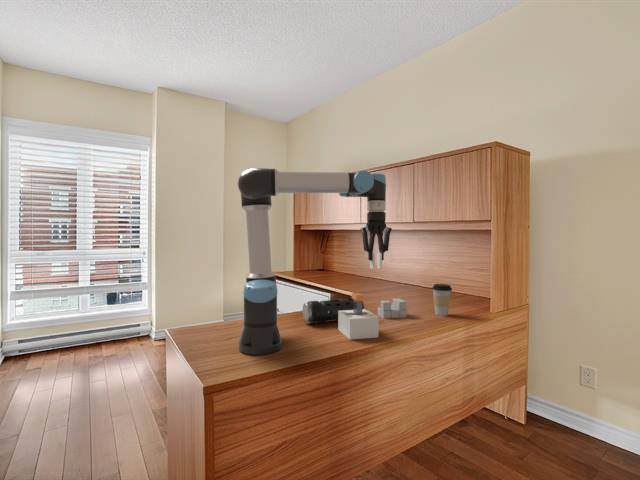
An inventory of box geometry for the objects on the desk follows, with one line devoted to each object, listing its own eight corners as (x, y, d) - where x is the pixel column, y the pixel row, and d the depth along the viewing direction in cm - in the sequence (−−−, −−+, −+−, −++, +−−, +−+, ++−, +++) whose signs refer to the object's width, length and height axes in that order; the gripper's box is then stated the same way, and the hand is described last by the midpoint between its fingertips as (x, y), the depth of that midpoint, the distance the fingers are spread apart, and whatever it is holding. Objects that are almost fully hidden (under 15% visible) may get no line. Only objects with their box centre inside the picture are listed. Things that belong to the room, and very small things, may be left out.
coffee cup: (433, 311, 172) (433, 283, 172) (452, 313, 168) (452, 284, 167) (430, 315, 163) (431, 285, 163) (451, 317, 159) (451, 287, 159)
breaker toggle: (356, 314, 131) (356, 295, 131) (351, 311, 136) (351, 293, 136) (364, 313, 132) (364, 295, 131) (358, 310, 137) (358, 292, 137)
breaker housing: (349, 339, 126) (350, 318, 126) (338, 329, 139) (338, 310, 139) (378, 337, 129) (378, 316, 129) (364, 327, 142) (364, 308, 142)
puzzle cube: (396, 311, 172) (396, 296, 172) (406, 317, 160) (406, 301, 160) (374, 312, 170) (374, 297, 169) (383, 318, 158) (383, 302, 158)
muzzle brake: (364, 321, 153) (364, 299, 153) (309, 327, 142) (309, 304, 142) (354, 316, 162) (354, 295, 162) (301, 322, 151) (301, 299, 151)
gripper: (362, 210, 130) (361, 269, 130) (397, 211, 134) (397, 268, 134) (355, 211, 137) (355, 267, 137) (389, 212, 141) (388, 267, 141)
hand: (375, 268), depth 136 cm, fingers open, 3 cm apart
